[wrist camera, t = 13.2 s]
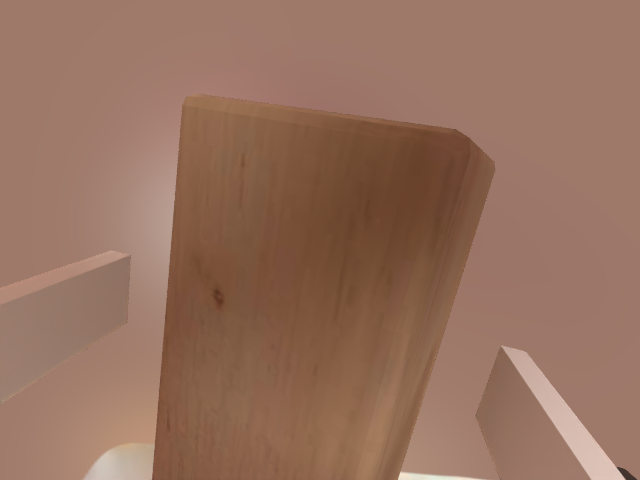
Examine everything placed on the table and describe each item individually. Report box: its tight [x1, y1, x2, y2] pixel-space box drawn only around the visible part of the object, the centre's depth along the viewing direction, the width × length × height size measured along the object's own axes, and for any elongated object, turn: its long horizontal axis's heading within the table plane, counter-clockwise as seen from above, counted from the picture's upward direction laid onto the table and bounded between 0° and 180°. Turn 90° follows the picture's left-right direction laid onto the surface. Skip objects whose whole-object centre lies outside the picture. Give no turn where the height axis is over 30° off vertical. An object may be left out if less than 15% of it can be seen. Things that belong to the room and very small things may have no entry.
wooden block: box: [152, 94, 495, 480], centre depth 17 cm, size 10×10×20 cm
